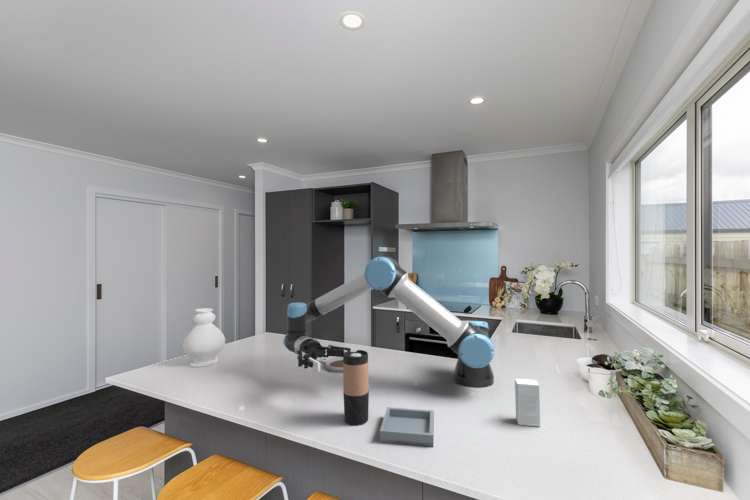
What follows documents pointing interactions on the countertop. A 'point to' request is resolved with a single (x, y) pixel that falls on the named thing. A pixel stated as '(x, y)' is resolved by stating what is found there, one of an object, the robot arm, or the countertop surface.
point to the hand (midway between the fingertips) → (337, 362)
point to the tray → (408, 427)
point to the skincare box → (527, 402)
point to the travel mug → (355, 387)
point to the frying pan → (333, 364)
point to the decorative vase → (204, 340)
